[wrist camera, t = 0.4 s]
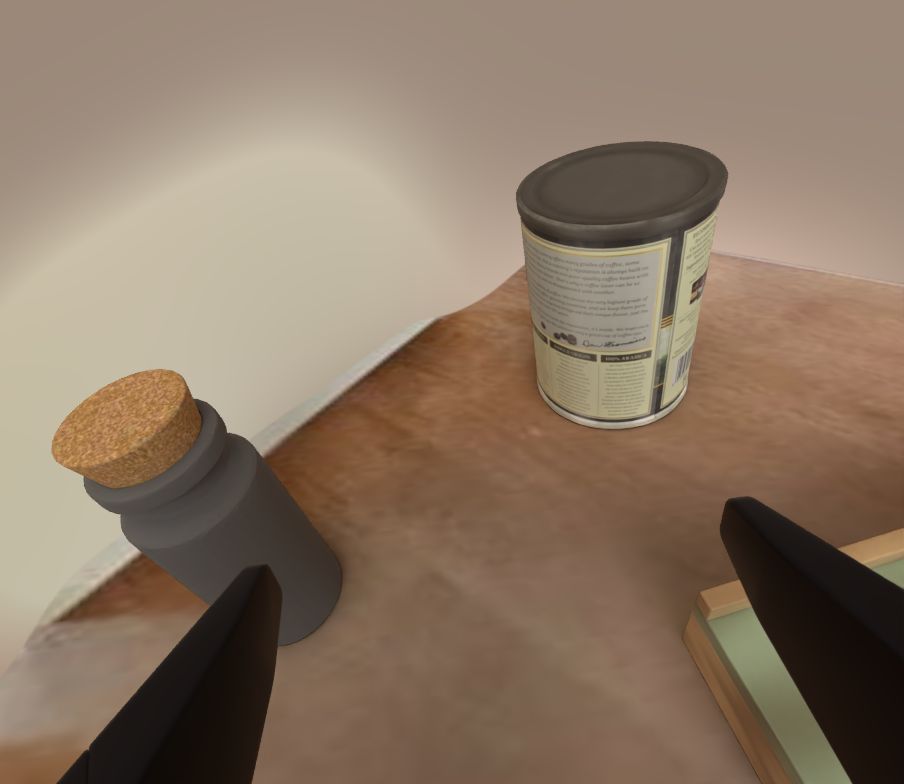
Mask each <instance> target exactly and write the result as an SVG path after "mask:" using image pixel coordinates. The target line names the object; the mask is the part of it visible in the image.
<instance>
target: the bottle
mask: <svg viewBox="0 0 904 784" xmlns="http://www.w3.org/2000/svg"><path fill="white" fill-rule="evenodd" d="M52 454H53V457H54V459H55V460H56V461H57V462H58V463H59V464H61V465H62V466H64V467H66V468H68V469H71V470H73V471H75V472H77V473H79V474H81V475H83V476H84V487H85V489H86V492H87V493H88V494H89V495H90V497H91V498H92V499H94V500H95V501H96V502H97V503H98V504H99V505H101V506H102V507H103V508H105V509H107V510H108V511H110V512H113V513H116V514H121V528H122V531H123V533H124V535H125V536H126V538H127V539H128V541H129V542H130V543H131V544H133V545H134V546H135V547H136V548H137V549H139V550H140V551H141V552H142V553H143V554H144V555H146V556H147V557H148V558H149V559H151V560H152V561H153V562H155V563H156V564H157V565H158V566H160V567H161V568H162V569H164V570H165V571H166V572H167V573H169V574H170V575H171V576H173V577H174V578H175V579H176V580H178V581H179V582H180V583H182V584H183V585H184V586H185V587H187V588H188V589H189V590H191V591H192V592H193V593H194V594H196V595H197V596H198V597H200V598H201V599H202V600H203V601H205V602H206V603H207V604H209V605H210V606H211V605H212V604H213V603H214V602H215V601H216V599H217V598H218V597H219V596H220V595H221V594H222V592H223V591H224V590H225V589H226V588H227V587H228V586H229V584H230V583H231V582H232V581H233V580H234V579H235V577H236V576H237V575H238V574H239V573H240V572H241V571H242V570H243V569H244V568H245V567H246V566H249V565H256V564H263V563H264V564H267V565H269V566H270V568H271V570H272V572H273V573H274V575H275V577H276V579H277V581H278V583H279V584H280V586H281V589H282V594H283V601H282V611H281V620H280V629H279V638H278V646H280V645H287V644H291V643H294V642H297V641H299V640H301V639H303V638H304V637H306V636H308V635H309V634H311V633H312V632H313V631H315V630H316V629H317V628H318V627H319V626H320V625H321V624H322V623H323V622H324V621H325V620H326V618H327V617H328V616H329V614H330V613H331V611H332V610H333V608H334V606H335V604H336V602H337V600H338V597H339V593H340V589H341V583H342V575H341V569H340V565H339V562H338V560H337V558H336V557H335V555H334V554H333V552H332V551H331V549H330V548H329V547H328V545H327V544H326V543H325V541H324V540H323V538H322V537H321V536H320V534H319V533H318V531H317V530H316V529H315V527H314V526H313V525H312V523H311V522H310V521H309V519H308V518H307V516H306V515H305V514H304V512H303V511H302V510H301V508H300V507H299V506H298V504H297V503H296V502H295V500H294V499H293V498H292V496H291V495H290V493H289V492H288V491H287V489H286V488H285V487H284V485H283V484H282V483H281V481H280V480H279V479H278V477H277V476H276V475H275V473H274V472H273V471H272V469H271V468H270V467H269V465H268V464H267V463H266V462H265V460H264V459H263V458H262V456H261V455H260V454H259V453H258V451H257V450H256V449H255V447H254V446H253V445H252V444H251V443H250V442H249V441H248V440H246V439H245V438H244V437H241V436H239V435H236V434H232V433H227V429H226V426H225V423H224V422H223V420H222V418H221V417H220V415H219V414H218V413H217V411H216V410H215V409H214V408H213V407H212V406H211V405H209V404H208V403H207V402H204V401H201V400H199V399H193V397H192V395H191V393H190V391H189V388H188V386H187V384H186V382H185V380H184V378H183V377H182V376H181V375H180V374H178V373H176V372H174V371H171V370H163V369H157V370H148V371H143V372H139V373H135V374H132V375H129V376H127V377H124V378H121V379H119V380H118V381H115V382H113V383H111V384H109V385H107V386H106V387H104V388H102V389H100V390H99V391H97V392H96V393H94V394H93V395H91V396H90V397H89V398H87V399H86V400H85V401H83V402H82V403H81V404H80V405H79V406H78V407H76V408H75V409H74V410H73V411H72V412H71V413H70V414H69V415H68V416H67V418H66V419H65V420H64V421H63V423H62V424H61V425H60V427H59V428H58V430H57V432H56V434H55V436H54V439H53V441H52Z"/></svg>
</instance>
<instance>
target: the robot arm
mask: <svg viewBox="0 0 904 784" xmlns="http://www.w3.org/2000/svg"><path fill="white" fill-rule="evenodd" d="M720 535H721V539H722V541H723V543H724V546H725V548H726V550H727V552H728V555H729V557H730V559H731V561H732V564H733V566H734V568H735V570H736V573H737V575H738V577H739V579H740V582H741V584H742V586H743V588H744V591H745V593H746V595H747V597H748V600H749V602H750V604H751V606H752V608H753V610H754V613H755V615H756V617H757V618H758V620H759V622H760V624H761V626H762V628H763V629H764V631H765V633H766V635H767V636H768V638H769V640H770V642H771V643H772V645H773V647H774V649H775V650H776V652H777V654H778V655H779V657H780V659H781V661H782V662H783V664H784V666H785V668H786V669H787V671H788V673H789V675H790V676H791V678H792V680H793V682H794V683H795V685H796V687H797V689H798V690H799V692H800V694H801V696H802V697H803V699H804V701H805V702H806V704H807V706H808V708H809V709H810V711H811V713H812V715H813V716H814V718H815V720H816V722H817V723H818V725H819V727H820V729H821V730H822V732H823V734H824V736H825V737H826V739H827V741H828V743H829V744H830V746H831V748H832V749H833V751H834V753H835V755H836V756H837V758H838V760H839V762H840V763H841V765H842V767H843V769H844V770H845V772H846V774H847V776H848V777H849V779H850V781H851V783H852V784H904V589H903V588H901V587H900V586H898V585H896V584H895V583H893V582H891V581H890V580H888V579H886V578H885V577H883V576H881V575H880V574H878V573H877V572H875V571H873V570H872V569H870V568H868V567H867V566H865V565H863V564H862V563H860V562H858V561H857V560H855V559H853V558H852V557H850V556H849V555H847V554H845V553H844V552H842V551H840V550H839V549H837V548H835V547H834V546H832V545H830V544H829V543H827V542H825V541H824V540H822V539H821V538H819V537H817V536H816V535H814V534H812V533H811V532H809V531H807V530H806V529H804V528H802V527H801V526H799V525H797V524H796V523H794V522H792V521H791V520H789V519H788V518H786V517H784V516H783V515H781V514H779V513H778V512H776V511H774V510H773V509H771V508H769V507H768V506H766V505H764V504H763V503H761V502H760V501H758V500H756V499H754V498H752V497H749V496H745V497H737V498H731V499H728V500H727V501H726V503H725V507H724V511H723V515H722V520H721V524H720ZM282 601H283V594H282V589H281V586H280V584H279V583H278V581H277V579H276V577H275V575H274V573H273V572H272V570H271V568H270V566H269V565H267V564H264V563H263V564H256V565H249V566H246V567H245V568H244V569H243V570H242V571H241V572H240V573H239V574H238V575H237V576H236V577H235V579H234V580H233V581H232V582H231V583H230V584H229V586H228V587H227V588H226V589H225V590H224V591H223V592H222V594H221V595H220V596H219V597H218V598H217V599H216V601H215V602H214V603H213V604H212V605H211V606H210V607H209V609H208V610H207V611H206V612H205V613H204V614H203V615H202V617H201V618H200V619H199V620H198V621H197V622H196V624H195V625H194V626H193V627H192V628H191V629H190V630H189V632H188V633H187V634H186V635H185V636H184V637H183V639H182V640H181V641H180V642H179V643H178V644H177V645H176V647H175V648H174V649H173V650H172V651H171V652H170V654H169V655H168V656H167V657H166V658H165V659H164V660H163V662H162V663H161V664H160V665H159V666H158V667H157V668H156V670H155V671H154V672H153V673H152V674H151V675H150V677H149V678H148V679H147V680H146V681H145V682H144V683H143V685H142V686H141V687H140V688H139V689H138V690H137V692H136V693H135V694H134V695H133V696H132V697H131V698H130V700H129V701H128V702H127V703H126V704H125V705H124V707H123V708H122V709H121V710H120V711H119V712H118V713H117V715H116V716H115V717H114V718H113V719H112V720H111V721H110V723H109V724H108V725H107V726H106V727H105V728H104V730H103V731H102V732H101V733H100V734H99V735H98V736H97V738H96V739H95V740H94V741H93V742H92V743H91V745H90V746H89V750H86V751H84V752H83V754H82V755H81V756H80V757H79V758H78V759H77V760H76V762H75V763H74V764H73V765H72V766H71V767H70V768H69V770H68V771H67V772H66V773H65V774H64V775H63V776H62V778H61V779H60V780H59V781H58V782H57V783H56V784H252V779H253V775H254V770H255V765H256V761H257V756H258V751H259V747H260V742H261V737H262V733H263V728H264V723H265V719H266V714H267V709H268V705H269V700H270V695H271V691H272V685H273V680H274V673H275V666H276V657H277V648H278V638H279V629H280V620H281V611H282Z"/></svg>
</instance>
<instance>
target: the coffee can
mask: <svg viewBox="0 0 904 784" xmlns="http://www.w3.org/2000/svg"><path fill="white" fill-rule="evenodd" d="M727 179H728V172H727V169H726V167H725V165H724V164H723V163H722V161H720V159H718V158H717V157H716V156H714V155H713V154H711V153H709V152H707V151H704V150H702V149H699V148H695V147H690V146H688V145H683V144H676V143H668V142H649V141H645V142H624V143H616V144H608V145H601V146H596V147H592V148H588V149H584V150H580V151H577V152H573V153H570V154H567V155H565V156H562V157H560V158H557V159H555V160H552V161H550V162H548V163H546V164H544V165H542V166H540V167H539V168H537V169H536V170H534V171H533V172H532V173H530V174H529V175H528V176H527V177H526V178H525V179H524V180H523V181H522V182H521V184H520V185H519V187H518V189H517V192H516V201H517V208H518V212H519V214H520V216H521V227H522V235H523V245H524V254H525V264H526V272H527V282H528V291H529V301H530V310H531V319H532V328H533V338H534V346H535V356H536V366H537V385H538V389H539V392H540V394H541V396H542V397H543V399H544V400H545V402H546V403H547V404H548V405H549V406H550V407H551V408H552V409H553V410H554V411H555V412H556V413H558V414H559V415H561V416H563V417H565V418H567V419H569V420H571V421H573V422H575V423H578V424H581V425H585V426H589V427H594V428H602V429H622V428H632V427H637V426H642V425H646V424H649V423H651V422H654V421H656V420H658V419H660V418H662V417H664V416H665V415H667V414H668V413H670V412H671V411H673V409H674V408H675V407H676V406H677V405H678V404H679V403H680V401H681V400H682V398H683V397H684V395H685V392H686V389H687V385H688V373H689V367H690V361H691V356H692V351H693V346H694V340H695V334H696V329H697V323H698V318H699V313H700V307H701V302H702V296H703V290H704V285H705V280H706V275H707V269H708V264H709V259H710V253H711V247H712V241H713V236H714V230H715V225H716V219H717V213H718V208H719V202H720V199H721V198H722V196H723V194H724V191H725V187H726V184H727Z"/></svg>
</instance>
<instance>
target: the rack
mask: <svg viewBox="0 0 904 784" xmlns="http://www.w3.org/2000/svg"><path fill="white" fill-rule="evenodd" d="M837 549H839V550H840V551H842V552H844V553H845V554H847V555H849V556H850V557H852V558H853V559H855V560H857V561H858V562H860V563H862V564H863V565H865V566H867V567H868V568H870V569H872V570H873V571H875V572H877V573H878V574H880V575H881V576H883V577H885V578H886V579H888V580H890V581H891V582H893V583H895V584H896V585H898V586H900V587H901V588H903V589H904V528H901V529H897V530H894V531H891V532H888V533H885V534H881V535H878V536H875V537H872V538H869V539H865V540H862V541H859V542H856V543H853V544H850V545H846V546H843V547H840V548H837ZM683 641H684V642H685V644H686V646H687V648H688V650H689V651H690V653H691V655H692V657H693V659H694V661H695V662H696V664H697V666H698V668H699V670H700V671H701V673H702V675H703V677H704V679H705V681H706V682H707V684H708V686H709V688H710V690H711V691H712V693H713V695H714V697H715V699H716V701H717V702H718V704H719V706H720V708H721V710H722V711H723V713H724V715H725V717H726V719H727V721H728V722H729V724H730V726H731V728H732V730H733V731H734V733H735V735H736V737H737V739H738V741H739V742H740V744H741V746H742V748H743V750H744V751H745V753H746V755H747V757H748V759H749V761H750V762H751V764H752V766H753V768H754V770H755V772H756V773H757V775H758V777H759V779H760V781H761V782H762V784H852V783H851V781H850V779H849V777H848V776H847V774H846V772H845V770H844V769H843V767H842V765H841V763H840V762H839V760H838V758H837V756H836V755H835V753H834V751H833V749H832V748H831V746H830V744H829V743H828V741H827V739H826V737H825V736H824V734H823V732H822V730H821V729H820V727H819V725H818V723H817V722H816V720H815V718H814V716H813V715H812V713H811V711H810V709H809V708H808V706H807V704H806V702H805V701H804V699H803V697H802V696H801V694H800V692H799V690H798V689H797V687H796V685H795V683H794V682H793V680H792V678H791V676H790V675H789V673H788V671H787V669H786V668H785V666H784V664H783V662H782V661H781V659H780V657H779V655H778V654H777V652H776V650H775V649H774V647H773V645H772V643H771V642H770V640H769V638H768V636H767V635H766V633H765V631H764V629H763V628H762V626H761V624H760V622H759V620H758V618H757V617H756V615H755V613H754V610H753V608H752V606H751V604H750V602H749V600H748V597H747V595H746V593H745V591H744V588H743V586H742V584H741V582H740V579H738V580H735V581H732V582H728V583H725V584H722V585H719V586H716V587H713V588H709V589H706V590H703V591H700V592H699V594H698V597H697V600H696V603H695V606H694V608H693V611H692V613H691V616H690V618H689V621H688V624H687V627H686V630H685V632H684V635H683Z"/></svg>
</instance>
